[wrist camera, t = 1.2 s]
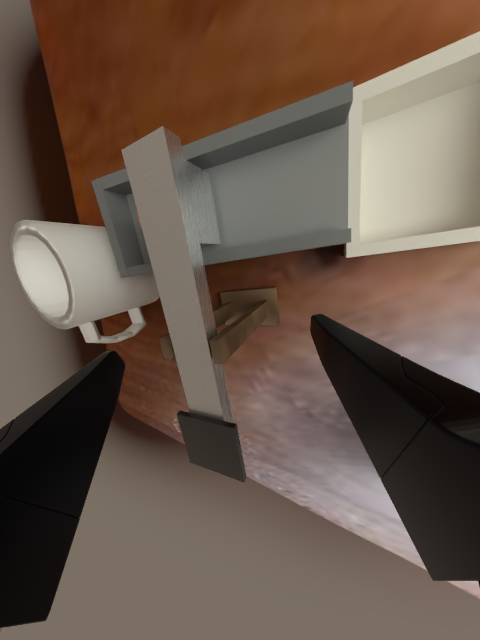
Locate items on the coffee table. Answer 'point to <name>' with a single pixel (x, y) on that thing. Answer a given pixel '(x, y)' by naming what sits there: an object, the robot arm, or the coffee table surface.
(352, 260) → the coffee table surface
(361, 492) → the coffee table surface
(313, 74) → the coffee table surface
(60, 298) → the mug
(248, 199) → the chute
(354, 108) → the cream square tray
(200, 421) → the lever
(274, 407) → the coffee table surface
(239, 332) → the lever stand
